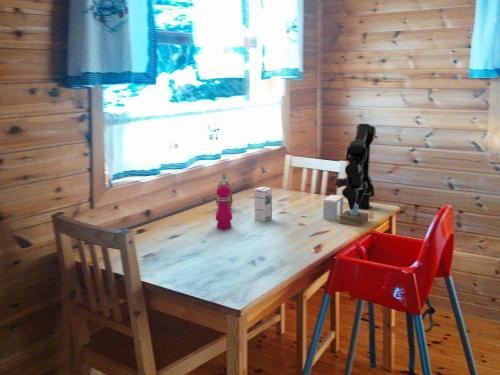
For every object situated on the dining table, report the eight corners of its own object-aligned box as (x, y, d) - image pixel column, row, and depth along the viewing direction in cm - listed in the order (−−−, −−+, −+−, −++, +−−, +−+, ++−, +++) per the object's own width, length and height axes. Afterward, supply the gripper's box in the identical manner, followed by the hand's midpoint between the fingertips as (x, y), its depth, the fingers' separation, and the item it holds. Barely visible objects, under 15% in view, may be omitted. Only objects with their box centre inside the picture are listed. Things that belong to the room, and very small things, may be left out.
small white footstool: (330, 213, 261) (331, 194, 259) (342, 214, 259) (343, 196, 256) (323, 218, 253) (323, 199, 250) (335, 220, 250) (336, 201, 248)
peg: (351, 220, 249) (352, 203, 248) (358, 221, 248) (359, 204, 246) (349, 222, 246) (349, 205, 245) (356, 223, 245) (357, 206, 243)
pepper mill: (230, 230, 237) (229, 184, 232) (213, 229, 238) (213, 183, 233) (234, 225, 243) (233, 180, 239) (218, 224, 245) (217, 179, 240)
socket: (346, 217, 254) (346, 210, 253) (367, 220, 249) (368, 213, 248) (339, 223, 245) (339, 216, 244) (361, 226, 241) (362, 218, 240)
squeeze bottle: (213, 207, 271) (212, 171, 267) (228, 206, 275) (228, 170, 270) (219, 211, 264) (219, 174, 260) (235, 209, 267) (235, 173, 263)
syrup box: (264, 221, 248) (264, 190, 245) (254, 219, 251) (253, 188, 248) (271, 219, 252) (272, 187, 249) (261, 216, 256) (261, 186, 253)
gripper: (344, 167, 254) (343, 200, 257) (331, 174, 237) (329, 210, 241) (368, 169, 249) (367, 203, 252) (356, 177, 232) (355, 213, 236)
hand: (354, 207), depth 245 cm, fingers open, 9 cm apart
